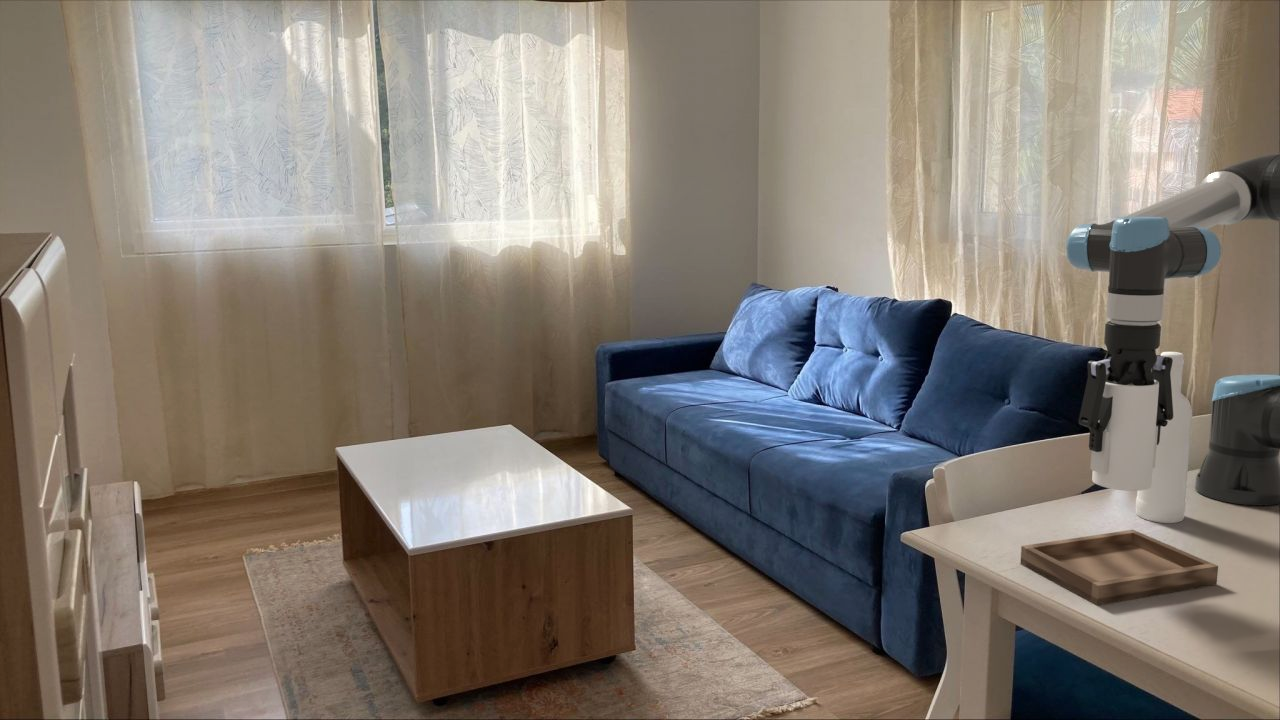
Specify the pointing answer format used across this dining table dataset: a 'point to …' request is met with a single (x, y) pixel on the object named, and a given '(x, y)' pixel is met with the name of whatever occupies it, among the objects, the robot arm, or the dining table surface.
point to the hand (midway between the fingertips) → (1122, 468)
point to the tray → (1118, 566)
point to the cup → (1130, 437)
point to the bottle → (1170, 458)
